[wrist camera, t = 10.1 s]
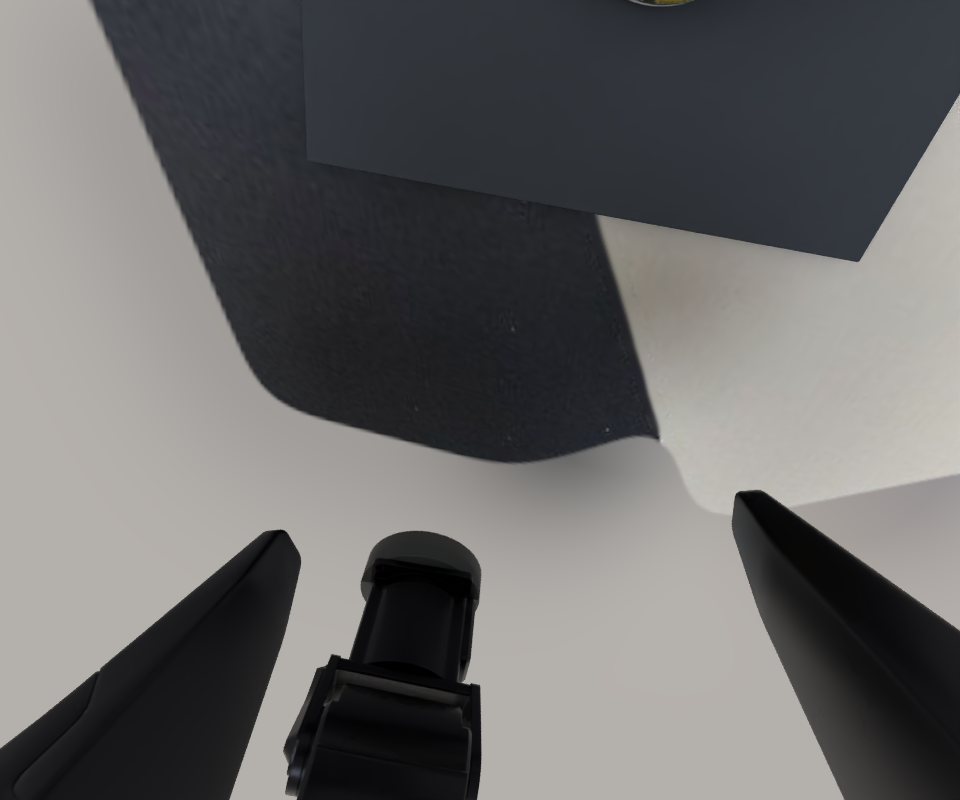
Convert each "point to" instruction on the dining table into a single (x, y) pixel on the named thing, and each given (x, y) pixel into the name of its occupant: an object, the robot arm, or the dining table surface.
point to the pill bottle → (661, 2)
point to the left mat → (643, 106)
